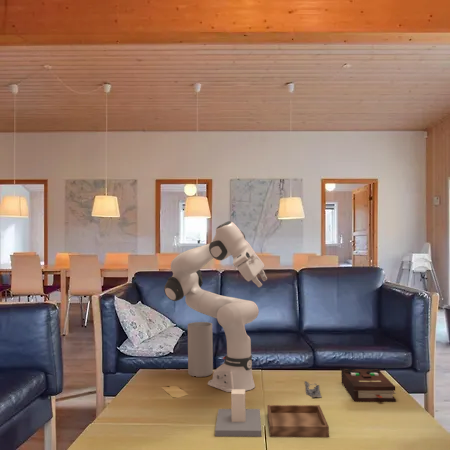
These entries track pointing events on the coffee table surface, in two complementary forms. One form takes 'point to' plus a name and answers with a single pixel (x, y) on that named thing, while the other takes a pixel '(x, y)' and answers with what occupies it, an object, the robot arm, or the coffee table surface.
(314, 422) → the box
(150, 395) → the coffee table surface
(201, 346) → the cylinder vase
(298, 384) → the coffee table surface
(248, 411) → the board
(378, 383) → the decorative book
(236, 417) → the tall cream pillar block
